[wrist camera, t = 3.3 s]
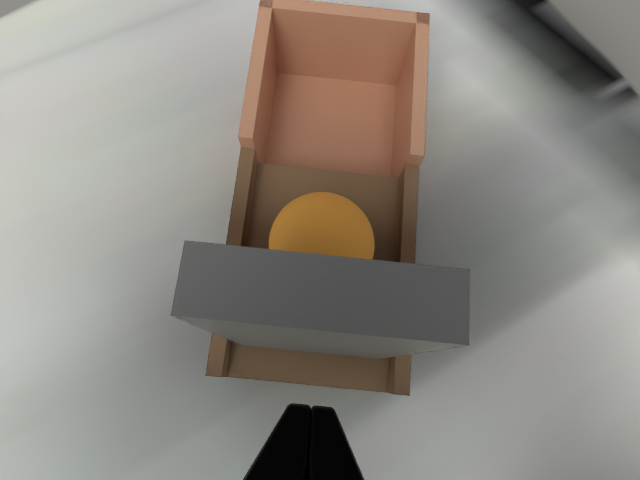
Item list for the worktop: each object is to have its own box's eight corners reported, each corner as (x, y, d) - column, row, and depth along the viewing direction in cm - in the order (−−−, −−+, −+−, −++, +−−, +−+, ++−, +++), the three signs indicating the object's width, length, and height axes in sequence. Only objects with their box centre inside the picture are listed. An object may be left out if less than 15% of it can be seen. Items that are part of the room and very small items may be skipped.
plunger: (377, 359, 16) (469, 345, 7) (243, 345, 16) (171, 315, 7) (379, 323, 16) (469, 269, 7) (248, 310, 16) (184, 240, 7)
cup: (398, 201, 21) (424, 155, 16) (252, 186, 20) (238, 136, 16) (404, 83, 22) (429, 13, 18) (269, 69, 22) (260, -5, 18)
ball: (386, 252, 17) (406, 223, 14) (325, 325, 16) (331, 313, 13) (314, 194, 18) (317, 153, 14) (252, 261, 17) (240, 234, 14)
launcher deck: (388, 391, 18) (409, 395, 15) (224, 374, 18) (205, 375, 15) (398, 201, 21) (418, 165, 17) (251, 186, 20) (241, 147, 17)
